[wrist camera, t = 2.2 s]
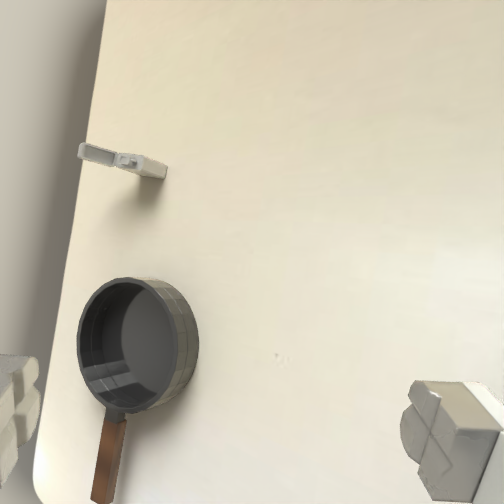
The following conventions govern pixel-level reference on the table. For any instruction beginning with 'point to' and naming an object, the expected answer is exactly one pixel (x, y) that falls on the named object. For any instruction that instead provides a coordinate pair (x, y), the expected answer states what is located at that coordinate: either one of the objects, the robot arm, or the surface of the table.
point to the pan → (136, 343)
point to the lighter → (123, 161)
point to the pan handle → (108, 457)
